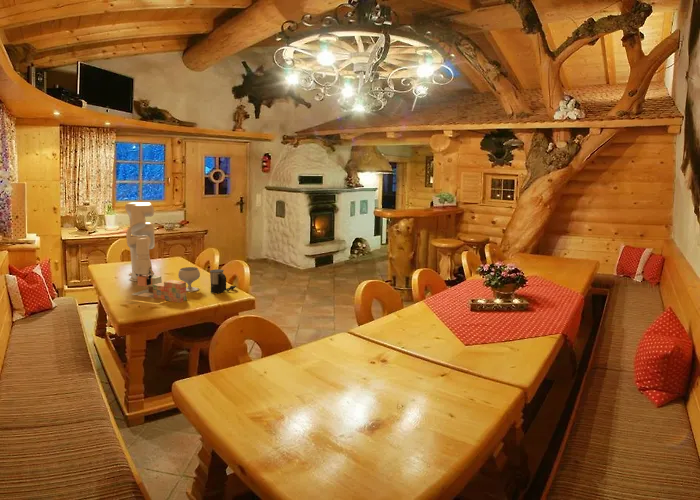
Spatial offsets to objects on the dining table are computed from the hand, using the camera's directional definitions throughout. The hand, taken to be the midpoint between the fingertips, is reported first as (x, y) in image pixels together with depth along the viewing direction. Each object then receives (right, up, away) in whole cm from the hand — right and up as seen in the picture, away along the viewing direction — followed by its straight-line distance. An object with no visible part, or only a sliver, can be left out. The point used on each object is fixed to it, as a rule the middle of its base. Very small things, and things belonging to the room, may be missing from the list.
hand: (144, 283), depth 321 cm
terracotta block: (0, -1, 0) cm, 1 cm away
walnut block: (+3, -6, +10) cm, 12 cm away
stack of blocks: (+18, -10, -5) cm, 21 cm away
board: (+2, -7, +6) cm, 10 cm away
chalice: (+24, -6, +17) cm, 30 cm away
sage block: (+3, -2, +9) cm, 10 cm away
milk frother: (+47, -6, +17) cm, 50 cm away
